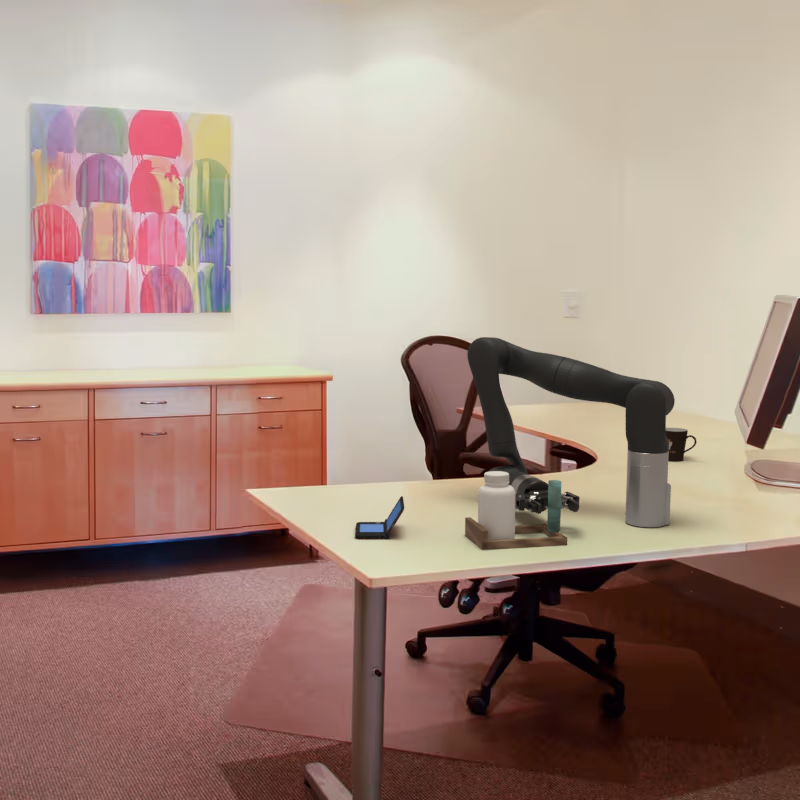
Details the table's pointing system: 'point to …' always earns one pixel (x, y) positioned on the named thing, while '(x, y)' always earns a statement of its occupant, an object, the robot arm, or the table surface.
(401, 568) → the table surface
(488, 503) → the pill bottle
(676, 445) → the coffee mug
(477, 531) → the brown wooden frame
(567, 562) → the table surface
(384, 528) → the handheld game console
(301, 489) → the table surface
